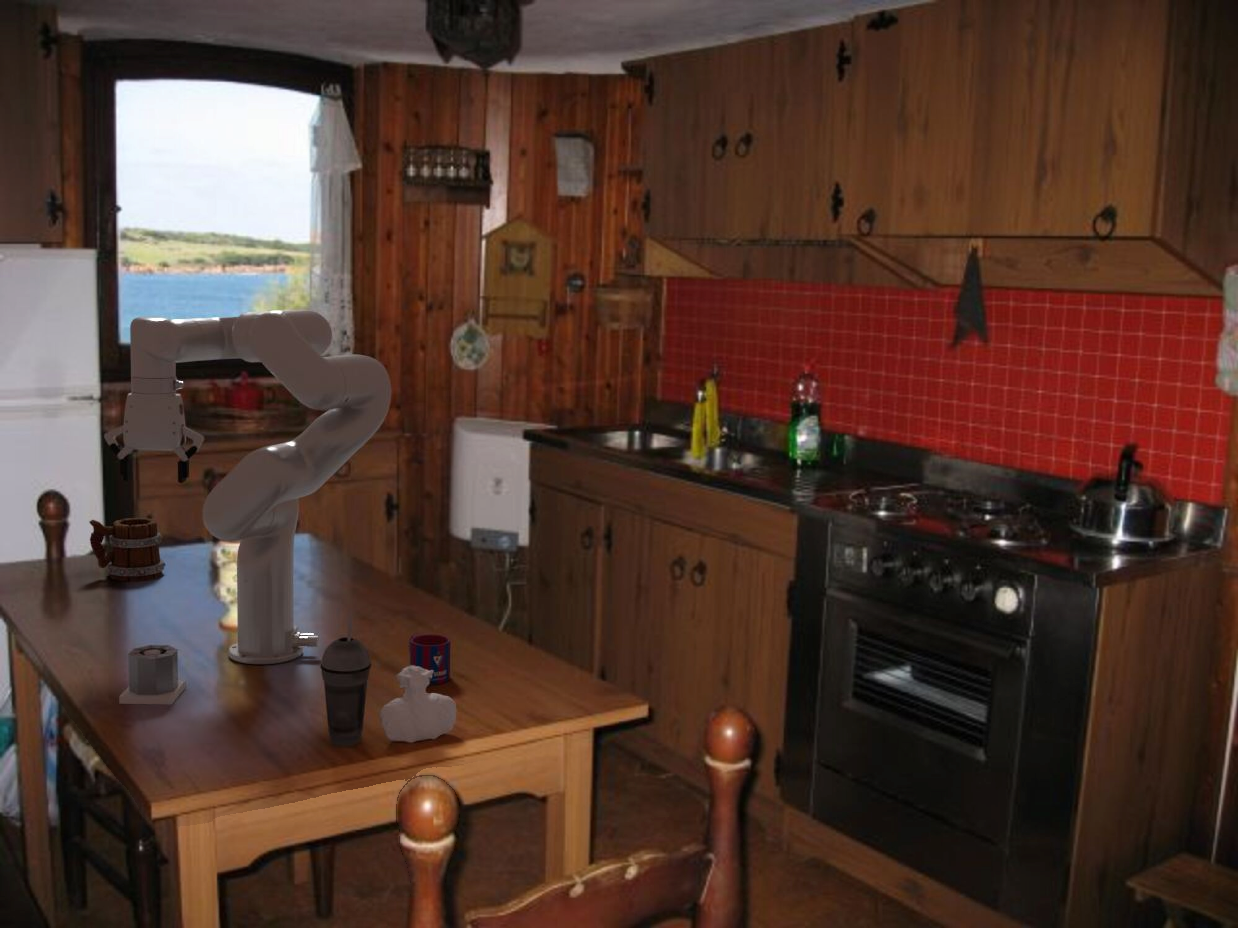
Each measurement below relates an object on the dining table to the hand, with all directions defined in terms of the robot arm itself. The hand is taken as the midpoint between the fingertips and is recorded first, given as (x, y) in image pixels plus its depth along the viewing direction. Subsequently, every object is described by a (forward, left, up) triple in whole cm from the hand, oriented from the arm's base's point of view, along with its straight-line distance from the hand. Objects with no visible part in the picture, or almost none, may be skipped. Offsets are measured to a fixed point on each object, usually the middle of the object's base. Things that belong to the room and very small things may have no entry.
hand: (155, 480), depth 233 cm
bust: (-52, +49, -29) cm, 77 cm away
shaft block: (-9, +34, -28) cm, 45 cm away
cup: (-51, +22, -29) cm, 62 cm away
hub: (-9, +34, -27) cm, 44 cm away
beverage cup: (-42, +52, -29) cm, 73 cm away
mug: (+18, -40, -29) cm, 53 cm away
